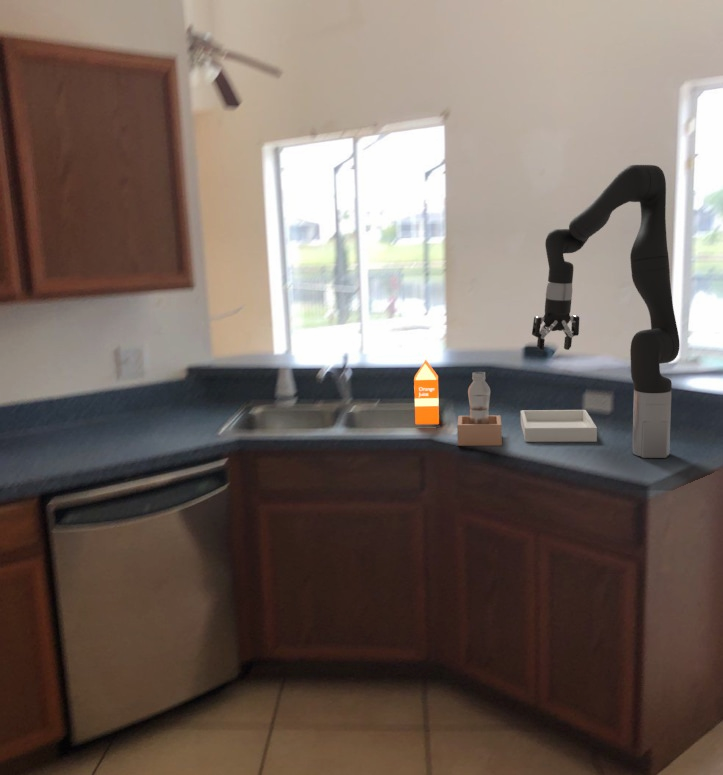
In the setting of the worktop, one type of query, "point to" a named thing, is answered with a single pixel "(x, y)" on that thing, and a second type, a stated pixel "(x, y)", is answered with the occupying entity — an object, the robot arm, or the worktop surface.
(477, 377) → the plastic bottle
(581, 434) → the plastic tray
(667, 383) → the robot arm
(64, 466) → the worktop surface
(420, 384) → the orange juice
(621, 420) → the worktop surface
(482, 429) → the terracotta holder
